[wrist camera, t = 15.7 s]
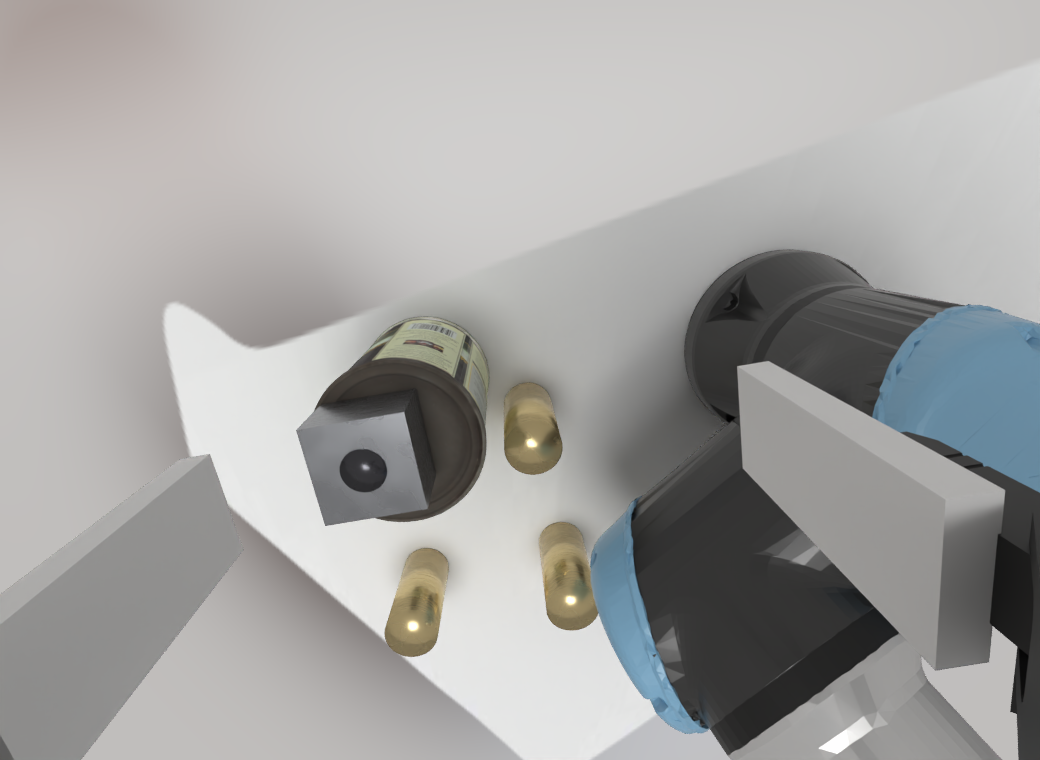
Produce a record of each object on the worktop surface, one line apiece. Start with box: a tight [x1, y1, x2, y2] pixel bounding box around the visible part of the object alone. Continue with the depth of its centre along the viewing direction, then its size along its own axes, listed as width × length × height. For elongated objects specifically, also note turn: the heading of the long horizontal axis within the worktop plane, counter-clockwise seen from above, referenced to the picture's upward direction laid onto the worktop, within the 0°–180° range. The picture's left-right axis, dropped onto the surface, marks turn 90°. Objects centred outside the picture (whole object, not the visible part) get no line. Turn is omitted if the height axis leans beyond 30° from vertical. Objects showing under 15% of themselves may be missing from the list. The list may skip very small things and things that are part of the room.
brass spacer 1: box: [385, 548, 449, 657], centre depth 47 cm, size 4×4×9 cm
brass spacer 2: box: [504, 383, 562, 475], centre depth 43 cm, size 4×4×9 cm
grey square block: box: [296, 388, 436, 526], centre depth 30 cm, size 6×6×4 cm
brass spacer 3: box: [539, 522, 598, 630], centre depth 46 cm, size 4×4×9 cm
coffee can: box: [314, 317, 489, 522], centre depth 39 cm, size 10×10×14 cm
